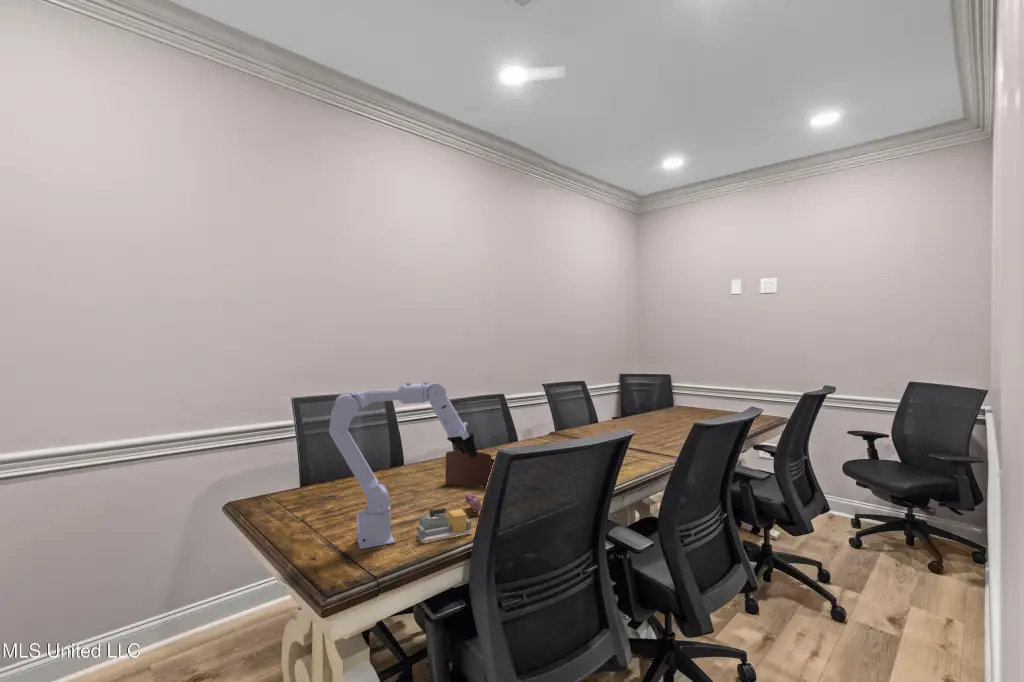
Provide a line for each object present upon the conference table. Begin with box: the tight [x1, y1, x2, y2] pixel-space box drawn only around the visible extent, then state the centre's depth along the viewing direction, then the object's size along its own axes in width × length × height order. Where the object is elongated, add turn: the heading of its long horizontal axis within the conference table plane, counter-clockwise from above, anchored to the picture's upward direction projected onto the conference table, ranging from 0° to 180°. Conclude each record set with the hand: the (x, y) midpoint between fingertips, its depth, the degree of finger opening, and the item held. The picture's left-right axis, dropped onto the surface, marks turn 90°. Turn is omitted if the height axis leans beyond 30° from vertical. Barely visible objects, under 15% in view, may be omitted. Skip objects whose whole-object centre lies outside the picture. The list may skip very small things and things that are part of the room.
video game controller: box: [464, 492, 483, 513], centre depth 160 cm, size 10×5×7 cm, turn 21°
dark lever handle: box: [429, 507, 447, 516], centre depth 147 cm, size 5×2×2 cm, turn 116°
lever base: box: [418, 513, 449, 530], centre depth 146 cm, size 8×5×3 cm, turn 116°
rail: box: [416, 517, 473, 542], centre depth 140 cm, size 15×6×3 cm, turn 116°
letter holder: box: [444, 450, 495, 489], centre depth 192 cm, size 10×20×14 cm, turn 73°
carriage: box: [447, 508, 468, 533], centre depth 141 cm, size 4×5×5 cm
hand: (470, 454), depth 146 cm, fingers open, 7 cm apart
